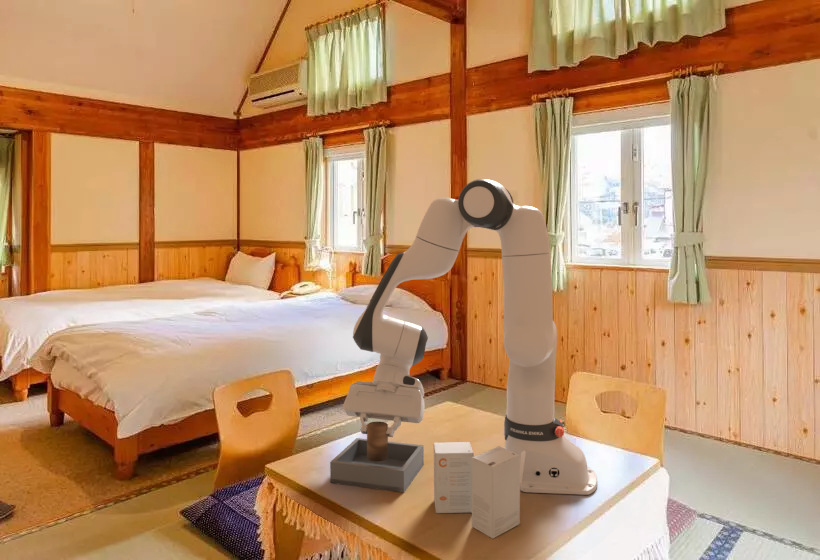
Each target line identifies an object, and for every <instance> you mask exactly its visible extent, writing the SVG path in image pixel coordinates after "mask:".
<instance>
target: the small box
mask: <svg viewBox="0 0 820 560" xmlns="http://www.w3.org/2000/svg"><path fill="white" fill-rule="evenodd" d="M474 456H475V453H474V450H473V448H472V445H471V441H460V442H459V441H455V442H454V441H453V442H452V441H451V442H450V441H448V442H446V441H445V442H433V500H434V509H435V514H453V513H454V514H458V513H462V514H463V513H466V514H467V513H471V514H472V457H474Z"/></svg>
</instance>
